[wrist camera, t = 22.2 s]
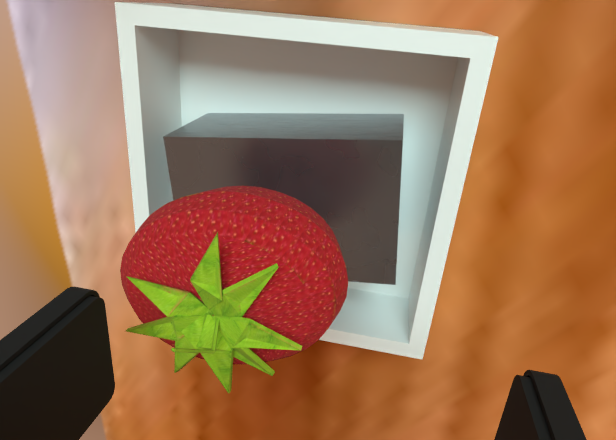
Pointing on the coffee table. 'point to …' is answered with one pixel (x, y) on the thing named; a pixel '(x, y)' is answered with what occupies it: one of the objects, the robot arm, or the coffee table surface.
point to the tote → (323, 100)
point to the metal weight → (306, 172)
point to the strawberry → (234, 277)
